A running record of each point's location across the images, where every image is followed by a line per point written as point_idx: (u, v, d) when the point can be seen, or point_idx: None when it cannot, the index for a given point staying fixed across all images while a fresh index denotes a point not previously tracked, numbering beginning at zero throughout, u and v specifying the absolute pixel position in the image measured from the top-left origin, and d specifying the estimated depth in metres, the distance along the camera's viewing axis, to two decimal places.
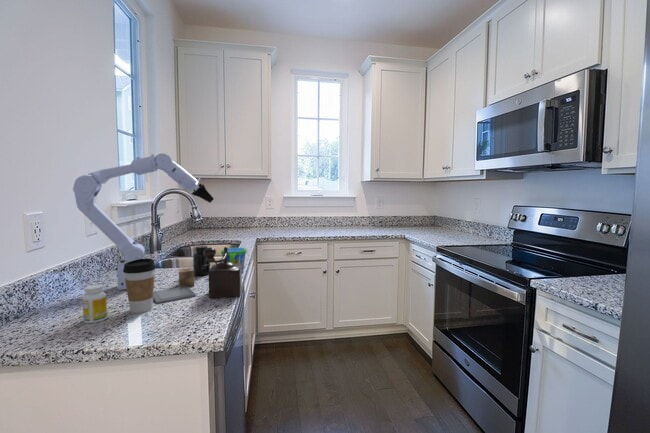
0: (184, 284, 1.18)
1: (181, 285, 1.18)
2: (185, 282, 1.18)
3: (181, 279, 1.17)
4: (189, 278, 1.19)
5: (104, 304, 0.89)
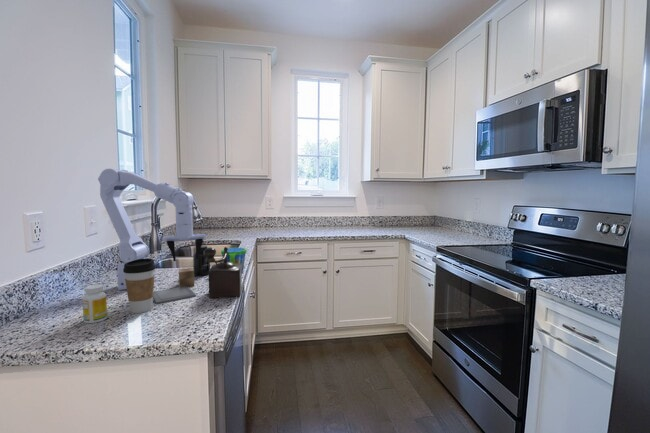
0: (184, 284, 1.18)
1: (181, 285, 1.18)
2: (185, 282, 1.18)
3: (181, 279, 1.17)
4: (189, 278, 1.19)
5: (104, 304, 0.89)
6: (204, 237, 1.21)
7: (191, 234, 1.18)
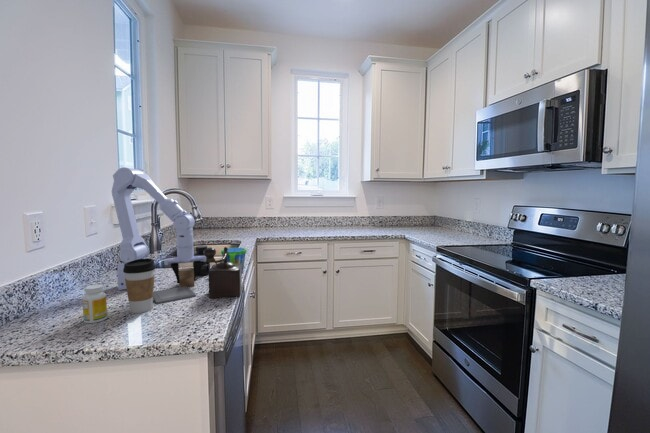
0: (184, 284, 1.18)
1: (181, 285, 1.18)
2: (185, 282, 1.18)
3: (181, 279, 1.17)
4: (189, 278, 1.19)
5: (104, 304, 0.89)
6: (205, 259, 1.22)
7: (192, 256, 1.19)
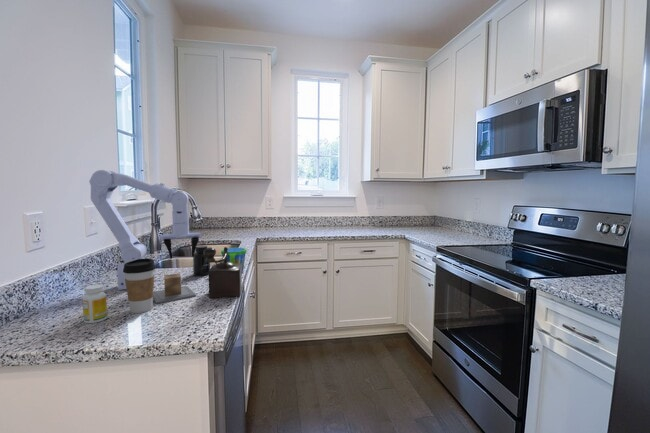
0: (170, 292, 1.07)
1: (166, 293, 1.07)
2: (171, 289, 1.07)
3: (166, 287, 1.06)
4: (175, 285, 1.08)
5: (104, 304, 0.89)
6: (200, 235, 1.25)
7: (187, 232, 1.22)
